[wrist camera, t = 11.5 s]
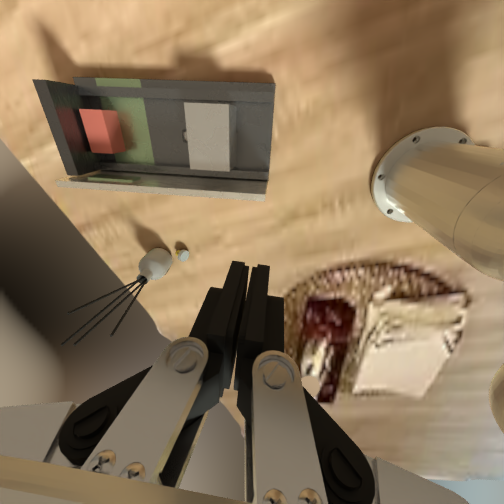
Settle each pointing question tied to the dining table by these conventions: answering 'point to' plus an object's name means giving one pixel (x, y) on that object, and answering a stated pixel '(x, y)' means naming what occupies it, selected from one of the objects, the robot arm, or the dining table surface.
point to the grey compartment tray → (159, 135)
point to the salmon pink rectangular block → (103, 131)
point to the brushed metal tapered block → (210, 136)
